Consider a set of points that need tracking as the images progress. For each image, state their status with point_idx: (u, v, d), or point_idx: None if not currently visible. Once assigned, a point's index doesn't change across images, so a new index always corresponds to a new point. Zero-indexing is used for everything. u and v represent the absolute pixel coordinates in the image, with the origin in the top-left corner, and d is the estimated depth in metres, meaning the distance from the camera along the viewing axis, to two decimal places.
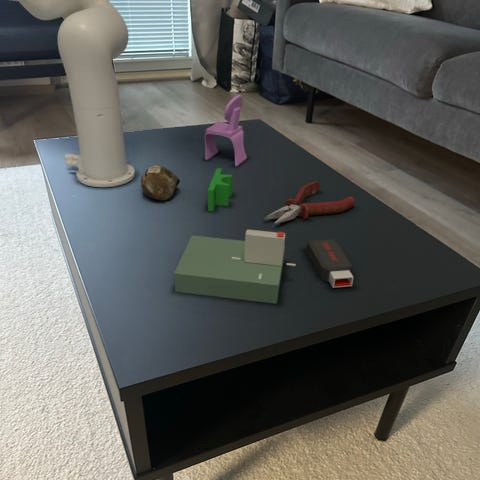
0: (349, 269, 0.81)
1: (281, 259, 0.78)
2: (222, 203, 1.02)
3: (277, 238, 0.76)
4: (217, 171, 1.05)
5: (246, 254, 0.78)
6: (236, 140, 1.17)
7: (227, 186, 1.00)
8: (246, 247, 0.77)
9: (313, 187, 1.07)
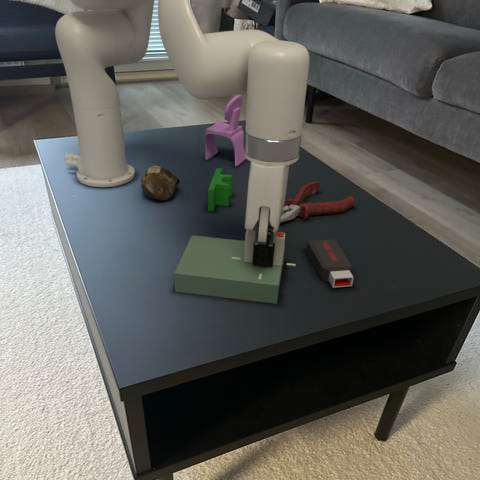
0: (349, 269, 0.81)
1: (281, 259, 0.78)
2: (222, 203, 1.02)
3: (277, 238, 0.76)
4: (217, 171, 1.05)
5: (246, 254, 0.78)
6: (236, 140, 1.17)
7: (227, 186, 1.00)
8: (246, 247, 0.77)
9: (313, 187, 1.07)
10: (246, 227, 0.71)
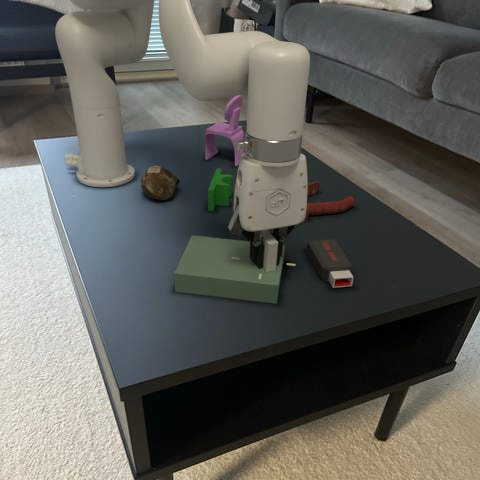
0: (349, 269, 0.81)
1: None
2: (222, 203, 1.02)
3: None
4: (217, 171, 1.05)
5: (275, 261, 0.77)
6: (236, 140, 1.17)
7: (227, 186, 1.00)
8: (276, 254, 0.76)
9: (313, 187, 1.07)
10: (304, 217, 0.74)
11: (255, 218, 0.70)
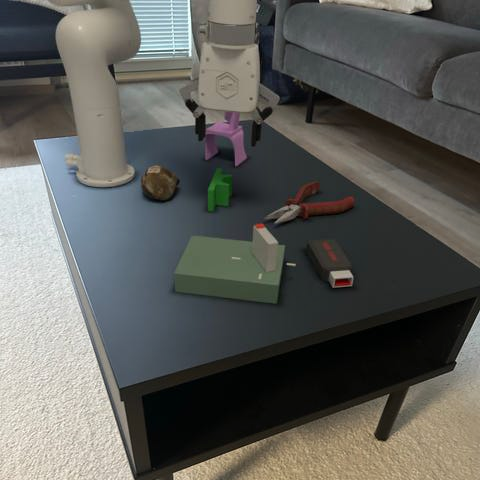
0: (349, 269, 0.81)
1: None
2: (222, 203, 1.02)
3: (265, 228, 0.78)
4: (217, 171, 1.05)
5: (275, 261, 0.77)
6: (236, 140, 1.17)
7: (227, 186, 1.00)
8: (276, 254, 0.76)
9: (313, 187, 1.07)
10: (254, 108, 0.84)
11: (207, 95, 0.84)
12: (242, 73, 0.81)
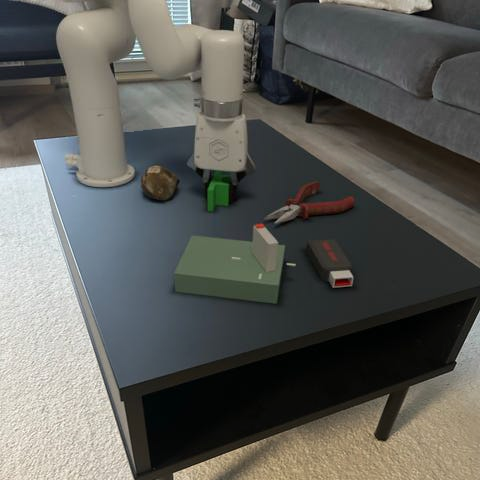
0: (349, 269, 0.81)
1: None
2: (222, 203, 1.02)
3: (265, 228, 0.78)
4: (217, 171, 1.05)
5: (275, 261, 0.77)
6: None
7: (227, 186, 1.00)
8: (276, 254, 0.76)
9: (313, 187, 1.07)
10: (243, 167, 0.97)
11: (202, 158, 0.97)
12: (232, 140, 0.94)
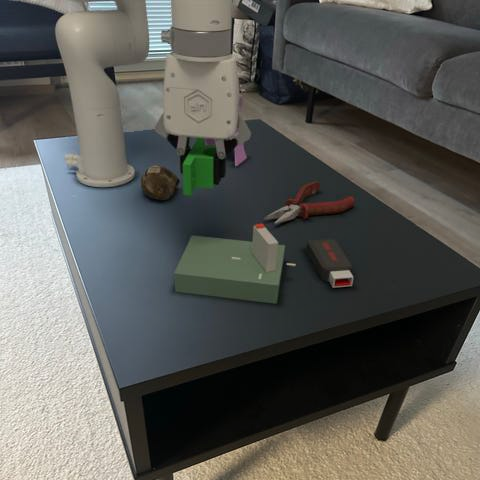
0: (349, 269, 0.81)
1: None
2: (204, 184, 0.73)
3: (265, 228, 0.78)
4: (198, 141, 0.76)
5: (275, 261, 0.77)
6: None
7: (210, 160, 0.71)
8: (276, 254, 0.76)
9: (313, 187, 1.07)
10: (233, 133, 0.68)
11: (174, 119, 0.68)
12: (216, 91, 0.65)
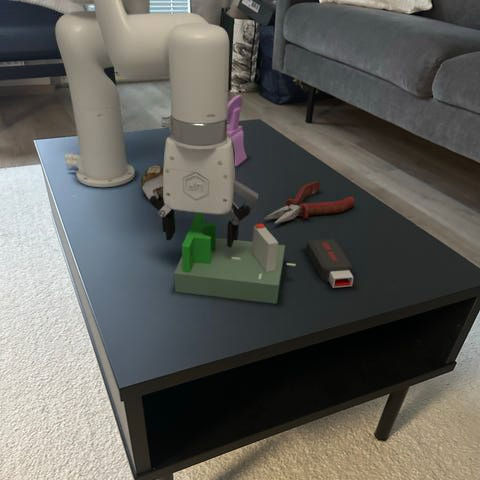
0: (349, 269, 0.81)
1: None
2: (202, 260, 0.78)
3: (265, 228, 0.78)
4: (197, 217, 0.81)
5: (275, 261, 0.77)
6: (236, 140, 1.17)
7: (208, 240, 0.76)
8: (276, 254, 0.76)
9: (313, 187, 1.07)
10: (229, 209, 0.72)
11: (173, 196, 0.72)
12: (213, 173, 0.69)
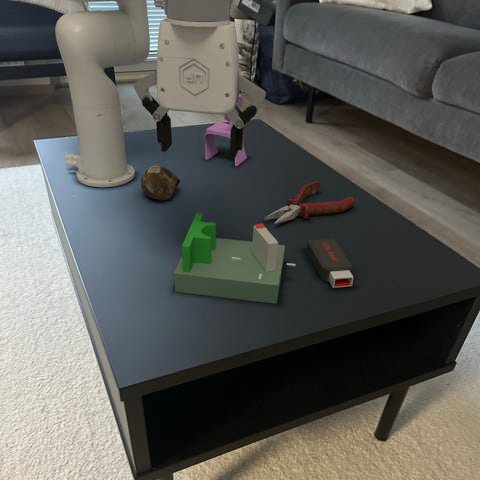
0: (349, 269, 0.81)
1: None
2: (202, 260, 0.78)
3: (265, 228, 0.78)
4: (197, 217, 0.81)
5: (275, 261, 0.77)
6: None
7: (208, 240, 0.76)
8: (276, 254, 0.76)
9: (313, 187, 1.07)
10: (232, 107, 0.63)
11: (169, 92, 0.63)
12: (214, 60, 0.60)
